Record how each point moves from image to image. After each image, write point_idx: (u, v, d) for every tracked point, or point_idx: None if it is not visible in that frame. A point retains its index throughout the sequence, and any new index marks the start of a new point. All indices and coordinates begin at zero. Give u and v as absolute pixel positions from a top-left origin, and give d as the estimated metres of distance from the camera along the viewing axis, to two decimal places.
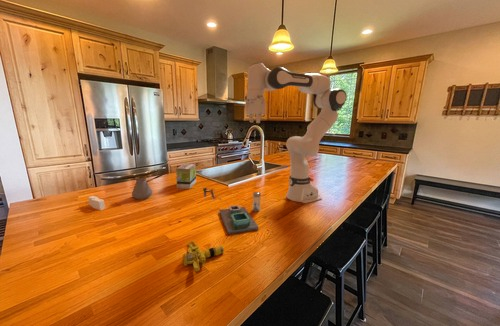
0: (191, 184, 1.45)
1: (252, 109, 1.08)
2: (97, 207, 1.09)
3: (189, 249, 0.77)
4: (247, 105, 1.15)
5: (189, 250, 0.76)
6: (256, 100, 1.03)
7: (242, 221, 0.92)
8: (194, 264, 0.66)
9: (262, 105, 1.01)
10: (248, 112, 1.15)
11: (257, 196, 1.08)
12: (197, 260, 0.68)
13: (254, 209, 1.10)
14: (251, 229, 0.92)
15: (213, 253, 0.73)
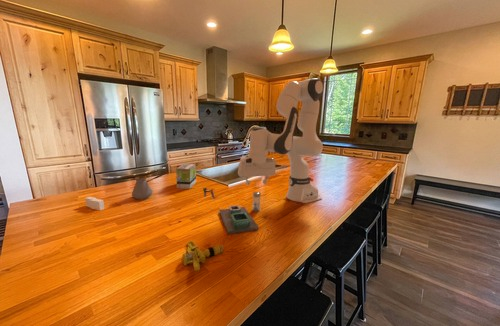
0: (191, 184, 1.45)
1: (261, 171, 1.06)
2: (96, 207, 1.09)
3: (188, 249, 0.77)
4: (245, 168, 1.03)
5: (188, 250, 0.76)
6: (269, 163, 1.07)
7: (242, 221, 0.92)
8: (194, 263, 0.67)
9: None
10: (248, 175, 1.04)
11: (257, 196, 1.08)
12: (197, 259, 0.68)
13: (254, 209, 1.10)
14: (251, 229, 0.92)
15: (213, 252, 0.74)
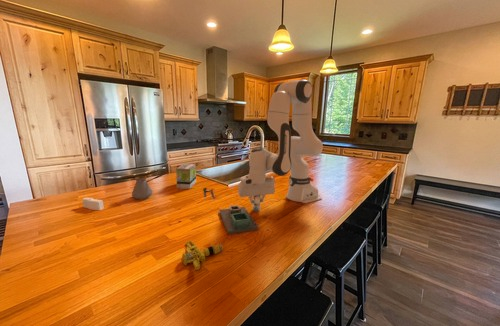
0: (191, 184, 1.45)
1: (260, 191, 1.09)
2: (95, 208, 1.09)
3: (187, 248, 0.77)
4: (245, 188, 1.05)
5: (188, 249, 0.77)
6: (269, 183, 1.09)
7: (242, 221, 0.92)
8: (194, 263, 0.67)
9: None
10: (248, 195, 1.07)
11: (257, 196, 1.08)
12: (197, 259, 0.69)
13: (254, 209, 1.10)
14: (251, 229, 0.92)
15: (212, 251, 0.74)
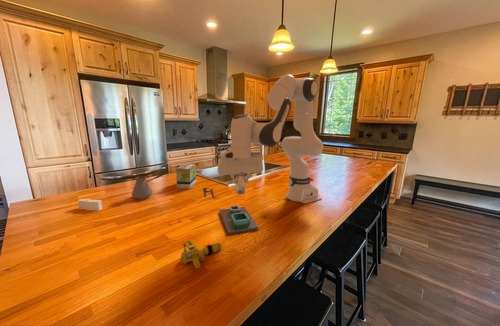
0: (191, 184, 1.45)
1: (245, 168, 0.89)
2: (94, 208, 1.08)
3: (186, 248, 0.78)
4: (225, 164, 0.86)
5: (186, 249, 0.77)
6: (255, 158, 0.90)
7: (242, 221, 0.92)
8: (194, 261, 0.68)
9: None
10: (229, 172, 0.87)
11: (241, 174, 0.89)
12: (196, 257, 0.69)
13: (237, 191, 0.91)
14: (251, 229, 0.92)
15: (211, 250, 0.75)
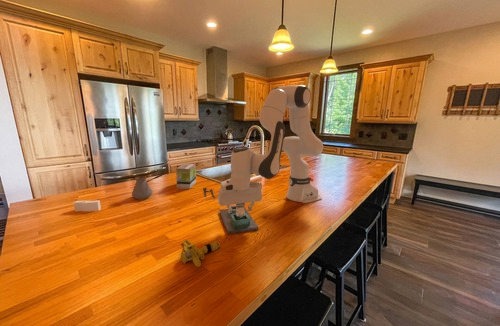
0: (191, 184, 1.45)
1: (244, 198, 0.92)
2: (93, 209, 1.07)
3: (185, 247, 0.78)
4: (225, 195, 0.89)
5: (185, 248, 0.77)
6: (254, 188, 0.93)
7: (242, 221, 0.92)
8: (194, 260, 0.68)
9: None
10: (229, 203, 0.90)
11: (240, 206, 0.92)
12: (196, 256, 0.70)
13: None
14: (251, 229, 0.92)
15: (210, 248, 0.76)
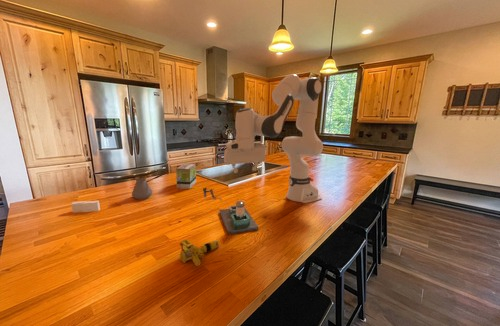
0: (191, 184, 1.45)
1: (249, 158, 0.97)
2: (92, 209, 1.07)
3: (184, 247, 0.78)
4: (231, 154, 0.93)
5: (184, 248, 0.78)
6: (258, 149, 0.97)
7: (242, 221, 0.92)
8: (194, 259, 0.69)
9: None
10: (235, 162, 0.95)
11: (240, 206, 0.92)
12: (196, 255, 0.70)
13: None
14: (251, 229, 0.92)
15: (209, 248, 0.76)
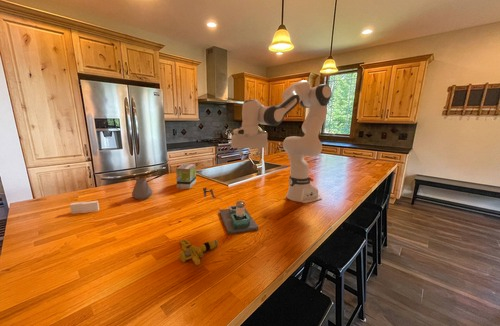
0: (191, 184, 1.45)
1: (253, 143, 1.10)
2: (92, 209, 1.07)
3: (183, 246, 0.78)
4: (237, 139, 1.07)
5: (183, 247, 0.78)
6: (261, 135, 1.11)
7: (242, 221, 0.92)
8: (194, 258, 0.69)
9: None
10: (241, 146, 1.08)
11: (240, 206, 0.92)
12: (196, 254, 0.71)
13: None
14: (251, 229, 0.92)
15: (208, 247, 0.77)
